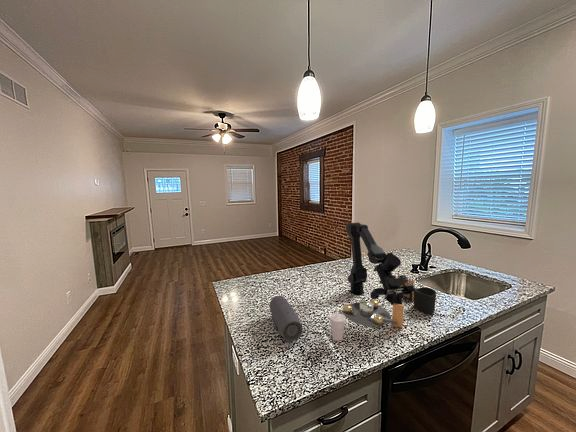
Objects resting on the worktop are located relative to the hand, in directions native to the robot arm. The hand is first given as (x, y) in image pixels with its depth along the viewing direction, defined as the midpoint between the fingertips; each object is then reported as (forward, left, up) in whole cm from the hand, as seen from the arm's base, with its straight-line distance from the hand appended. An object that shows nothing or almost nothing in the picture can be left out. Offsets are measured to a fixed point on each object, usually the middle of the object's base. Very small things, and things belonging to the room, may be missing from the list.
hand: (401, 311), depth 102 cm
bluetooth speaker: (-29, -39, -8) cm, 49 cm away
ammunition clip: (-15, +29, -8) cm, 34 cm away
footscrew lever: (-4, -3, -6) cm, 8 cm away
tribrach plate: (-15, -3, -8) cm, 17 cm away
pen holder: (-2, +23, -8) cm, 25 cm away
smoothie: (-10, -27, -8) cm, 30 cm away
